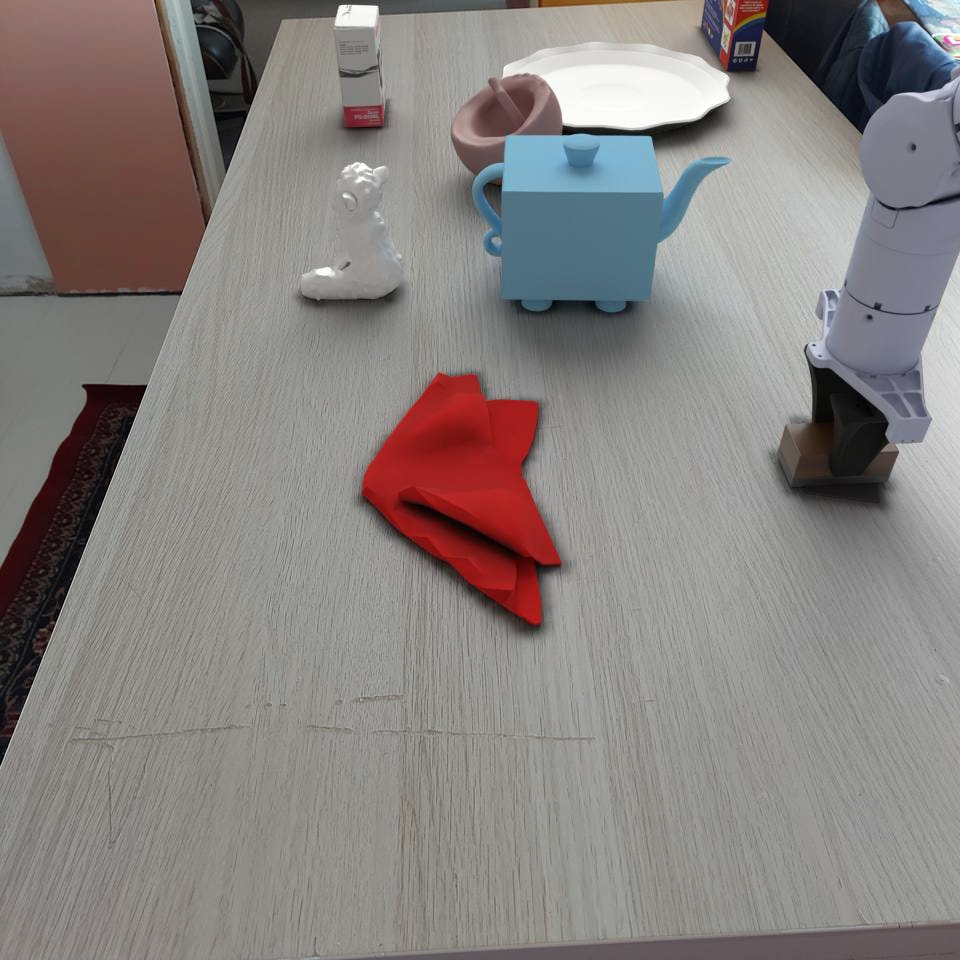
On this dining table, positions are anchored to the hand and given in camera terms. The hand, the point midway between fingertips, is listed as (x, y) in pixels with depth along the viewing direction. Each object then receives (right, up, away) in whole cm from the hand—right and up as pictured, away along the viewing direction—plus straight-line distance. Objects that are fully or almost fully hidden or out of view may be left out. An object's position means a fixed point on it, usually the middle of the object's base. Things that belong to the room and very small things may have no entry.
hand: (836, 453), depth 65 cm
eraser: (0, -1, +1) cm, 1 cm away
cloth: (-27, -2, +1) cm, 27 cm away
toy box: (+10, +60, +66) cm, 90 cm away
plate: (-9, +47, +52) cm, 71 cm away
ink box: (-40, +44, +50) cm, 78 cm away
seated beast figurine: (-37, +17, +21) cm, 45 cm away
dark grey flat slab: (+1, 0, +2) cm, 2 cm away
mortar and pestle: (-23, +31, +36) cm, 53 cm away
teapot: (-15, +16, +20) cm, 30 cm away
